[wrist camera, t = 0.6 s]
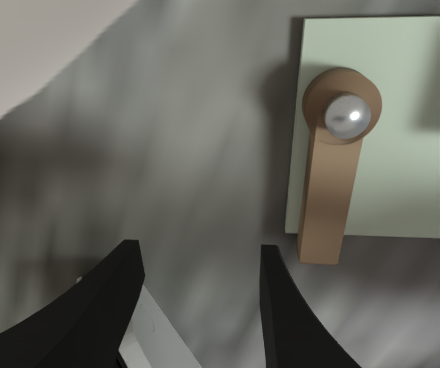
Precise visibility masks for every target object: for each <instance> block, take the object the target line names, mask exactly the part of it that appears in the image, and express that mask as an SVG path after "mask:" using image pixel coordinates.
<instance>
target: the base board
mask: <svg viewBox="0 0 440 368" xmlns="http://www.w3.org/2000/svg"><path fill="white" fill-rule="evenodd" d="M338 67H346V68H351V69H354V70H356V71H358V72H360V73H361V74H362V75H364V76H365V77H366V78H368V79H369V80H370V81H371V82H373V83H374V84H375V85H376V87H377V88H378V90H379V92H380V95H381V98H382V111H381V115H380V118H379V120H378V122H377V124H376V125H375V127H374V128H373V129H372V130H371V132H370V133H369V134H367V135H366V136H365V137H364V138H363V142H362V147H361V152H360V157H359V162H358V167H357V172H356V177H355V182H354V186H353V191H352V196H351V201H350V206H349V211H348V216H347V221H346V226H345V231H344V235H360V236H389V237H419V238H440V16H396V17H347V18H304V20H303V31H302V42H301V53H300V64H299V76H298V87H297V98H296V109H295V120H294V131H293V142H292V153H291V164H290V175H289V186H288V198H287V209H286V220H285V233H298V230H299V221H300V213H301V204H302V195H303V187H304V178H305V170H306V161H307V152H308V144H309V135H310V130H309V128H308V126H307V123H306V121H305V118H304V116H303V112H302V99H303V95H304V92H305V90H306V88H307V87H308V85H309V84H310V83H311V81H312V80H313V79H314V78H315V77H317V76H318V75H319V74H321V73H322V72H324V71H327V70H329V69H332V68H338Z"/></svg>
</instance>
